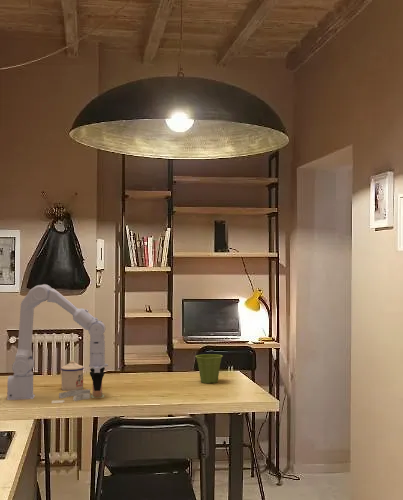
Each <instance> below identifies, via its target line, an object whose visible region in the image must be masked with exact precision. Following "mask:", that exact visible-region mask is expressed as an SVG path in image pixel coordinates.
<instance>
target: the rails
mask: <svg viewBox="0 0 403 500" xmlns="http://www.w3.org/2000/svg"><path fill="white" fill-rule="evenodd" d="M68 397H73V398H72V399H73V401H74V402H78V401H82V400H90V399H91V389H82V390H71V391H63V392H59V393H58V398H59V399H64V398H68Z"/></svg>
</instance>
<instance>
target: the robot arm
mask: <svg viewBox="0 0 403 500" xmlns="http://www.w3.org/2000/svg"><path fill="white" fill-rule="evenodd" d="M44 302H47V303H52V304H53V303H54V304H57V305H58V306H59V307H61V308H62V309H63V310H65V311H66V312H68V313H69V314H70V315H72V319H73V321H74V322H75V323H77V325H79V326H80V327H82V328H83V329H84V330H85V331H88V334H89V366H88V367H89V371H90V372H89V376H90V377H91V381H92V387H93V386H94V390H95V391H100V389H101V383H102V384H103V378H104V375H105V369H106V368H105V367H109V364H108V363H106V353H105V351H106V344H105V343H106V341H105V333H106V325H105V323H104V322H103V321H102V320H99V318H98V317H94V316H93V315H92V314H91V313H90V312H89V310H88V309H87V308H83V307H82V308H78V307H77V306H75V305H74V304H73V303H72V302H71V301H70V300H69V299H67V298H66V297H65V296H64V295H63V294H62V293H61V292H59V291H58V290H56V289H55V288H54V287H53V288H52V287H51V286H50V285H48V284H46V283H43V284H38V285H35V286H34V287H32V288H31V289H29V291H28V292H27V294H26V295H25V296H24V298H23V299H22V301H21V302H20V308H19V309H20V311H19V324H18V325H19V326H18V327H19V328H18V342H17V343H18V344H17V345H18V346H17V352H16V354H15V358H14V362H13V364H12V365H11V366H12V367H11V368H12V372H13V375H8V377H7V383H6V384H7V388H6V389H7V401H9V400H10V401H14V400H17V401H18V400H33V399H34V398H35V396H36V394H34V372H33V369H34V368H35V360H34V358H33V357H34V356H33V350H32V349H33V348H32V346H33V333H34V332H33V329H34V327H33V326H34V314H35V313H34V312H35V308H36V307H38V306H39V305H40V304H42V303H44Z"/></svg>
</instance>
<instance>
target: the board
mask: <svg viewBox="0 0 403 500" xmlns="http://www.w3.org/2000/svg"><path fill="white" fill-rule="evenodd" d="M95 398H96V399H97V398H99V399H100V398H105V394H102V396H101V397H93V394H90V399H95ZM63 403H65V399H60V400H59V399H57V400H56V399H55V400H51V404H63Z"/></svg>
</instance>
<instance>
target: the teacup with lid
mask: <svg viewBox="0 0 403 500" xmlns="http://www.w3.org/2000/svg"><path fill="white" fill-rule="evenodd" d="M60 370H61V390H62V391H63V392H67V391H71V390H84V365H80V364H78V363H77V362H76V361H75V360H69V363H67V364H65V365H64V366H61V368H60Z"/></svg>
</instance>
